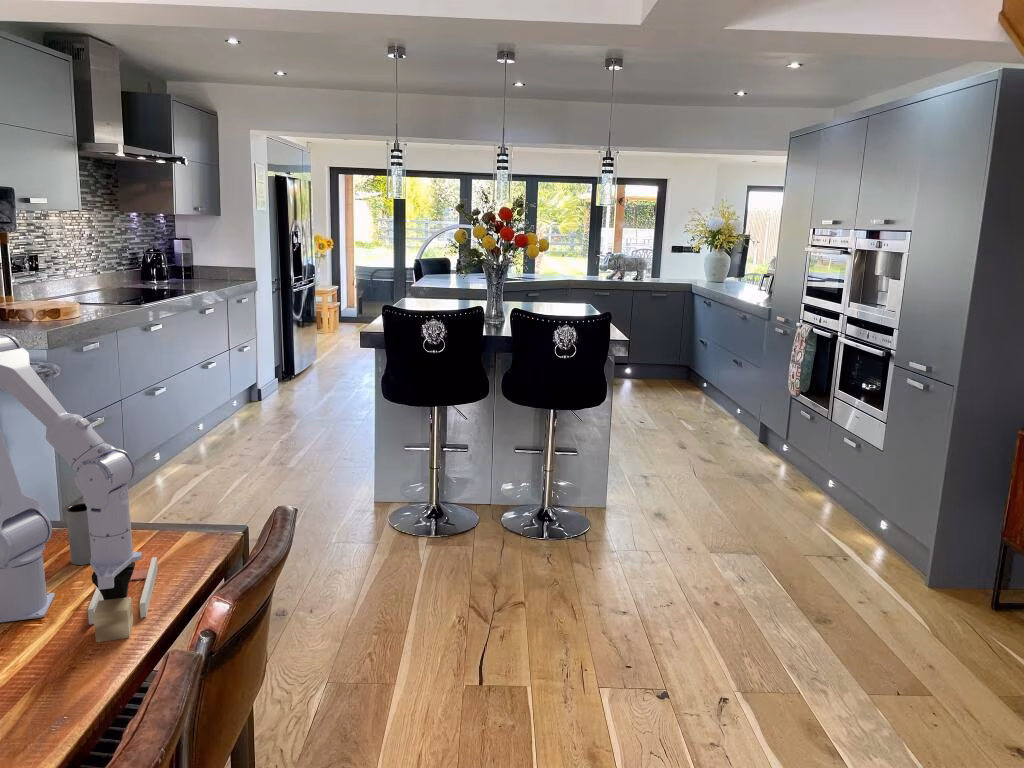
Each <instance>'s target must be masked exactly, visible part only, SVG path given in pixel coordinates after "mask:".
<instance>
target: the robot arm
mask: <svg viewBox="0 0 1024 768" xmlns="http://www.w3.org/2000/svg"><path fill="white" fill-rule="evenodd" d="M0 390H2V391H6V392H8V393H10V394H11V396H13V397H14V398H15V399H16V400H17V401H18V402H19V403H20V404H21V405H22V406H23V408H24V407H25V409H26V410H28V412H30V413H31V415H33V416H34V417H35V418H36V419H37V420H38V421H39V422H40V423H42V425H44V427H45V428H46V430H45V431H46V432H45V440H46V441H47V443H49V444H50V446H51V447H52V449H54V450H55V451H56V452H57V453H58V455H60V457H62V459H64V460H63V461H65V462H66V463H67V464H68V465H69V466H70V468H72V470H73V471H74V472H75V473H76V476H75V477H73V481H74V484H75V486H76V488H77V490H78V491H79V492H80V493H81V495H82V498H83V500H82V501H83V503H85V504H86V507H87V514H88V525H89V537H90V548H91V559H90V564H89V565H90V567H91V568H92V570H93V572H92V575H91V582H92V584H93V585H94V586H95V587H96V588H98V589H99V591H100V592H101V594H102V596H103V599H104V600H109V599H117V598H125V597H128V591H129V586H130V585H129V584H130V582H131V581H130V578H131V576H132V574H133V571H135V567H136V562H137V561H140V560H141V559H142V557H143V553H142V551H134V550H133V548H134V546H133V537H132V536H133V535H132V522H131V509H130V498H129V497H130V496H129V485H128V484H129V483H130V482H131V481H132V480H133V479H134V477H135V473H136V468H135V467H136V466H135V462H134V460H133V459H132V458H131V456H130V454H129V453H128V452H127V451H125V450H124V449H121V448H116V447H114V446H113V445H112V444H109V443H107V442H106V441H105V440H104V439H103V438H102V437H101V436H100V434H98V432H96V430H95V429H94V428H93V427H92V426H91V423H90V421H89V420H88V419H87V418H86V417H83V416H82V415H81V414H76V413H75V414H74V413H68V412H67V411H66V409H65V408H64V406H63V405H61V403H60V402H59V400H58V399H57V398H56V396H55V395H54V394H53V393H52V392H51V390H50V389H49V388H48V387H47V385H46V383H44V382H43V380H42V379H41V378H40V376H39V375H38V374H37V372H36V370H34V368H32V366H31V355H30V353H29V352H28V351H27V349H25V348H24V347H23V345H22V344H21V343H20V341H19V340H18V339H17V338H16V337H15V336H13V335H10V334H8V333H0ZM14 468H15V467H14V465H13V462H12V459H11V456H10V452H9V450H8V448H7V445H6V442H5V439H4V436H3V433H2V429H1V428H0V623H7V622H15V621H22V620H25V621H26V620H30V619H31V620H32V619H39V618H43V617H45V616H46V614H47V613H48V610H49V608H50V607H51V604H52V602H53V601H54V599H55V596H56V593H55V592H48V593H47V583H46V573H45V566H44V565H45V564H44V551H46V543H47V542H48V541H50V539H51V537H52V534H53V526H52V522H51V521H50V519H49V517H48V516H47V515H46V513H44V511H43V510H42V508H41V506H40V501H39V500H38V499H36V498H33V497H31V496H29V495H26V494H24V493H23V492H22V488H21V485H20V483H19V479H18V477H17V473H16V471H15V469H14Z"/></svg>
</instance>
